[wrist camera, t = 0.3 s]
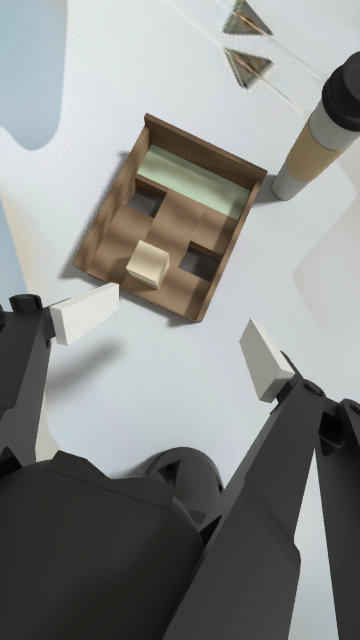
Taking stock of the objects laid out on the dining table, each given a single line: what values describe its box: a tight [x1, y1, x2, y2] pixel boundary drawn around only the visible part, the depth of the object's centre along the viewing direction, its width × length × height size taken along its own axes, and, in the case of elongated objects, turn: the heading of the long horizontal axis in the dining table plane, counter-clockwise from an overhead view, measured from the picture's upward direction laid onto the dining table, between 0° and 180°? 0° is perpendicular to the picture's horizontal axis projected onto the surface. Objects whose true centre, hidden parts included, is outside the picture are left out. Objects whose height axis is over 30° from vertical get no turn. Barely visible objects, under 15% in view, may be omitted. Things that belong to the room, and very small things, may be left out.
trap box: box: [72, 113, 268, 323], centre depth 29 cm, size 30×24×6 cm
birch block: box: [126, 240, 169, 290], centre depth 26 cm, size 5×5×5 cm
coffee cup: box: [272, 51, 360, 200], centre depth 26 cm, size 9×9×15 cm
